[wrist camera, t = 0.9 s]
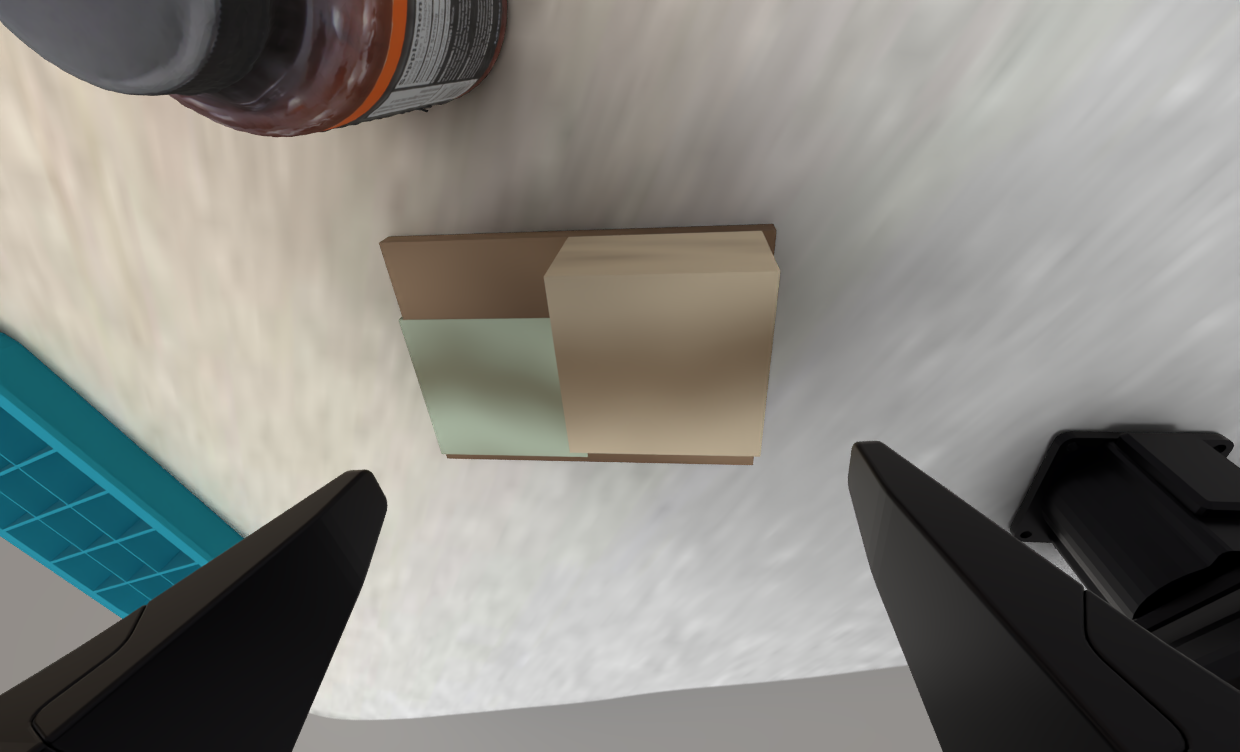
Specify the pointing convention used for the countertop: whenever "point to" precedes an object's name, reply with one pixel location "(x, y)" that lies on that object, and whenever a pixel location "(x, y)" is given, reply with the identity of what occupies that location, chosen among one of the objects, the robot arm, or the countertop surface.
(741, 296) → the beech block
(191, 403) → the countertop surface
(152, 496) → the ice cube tray
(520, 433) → the board
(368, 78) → the supplement bottle
